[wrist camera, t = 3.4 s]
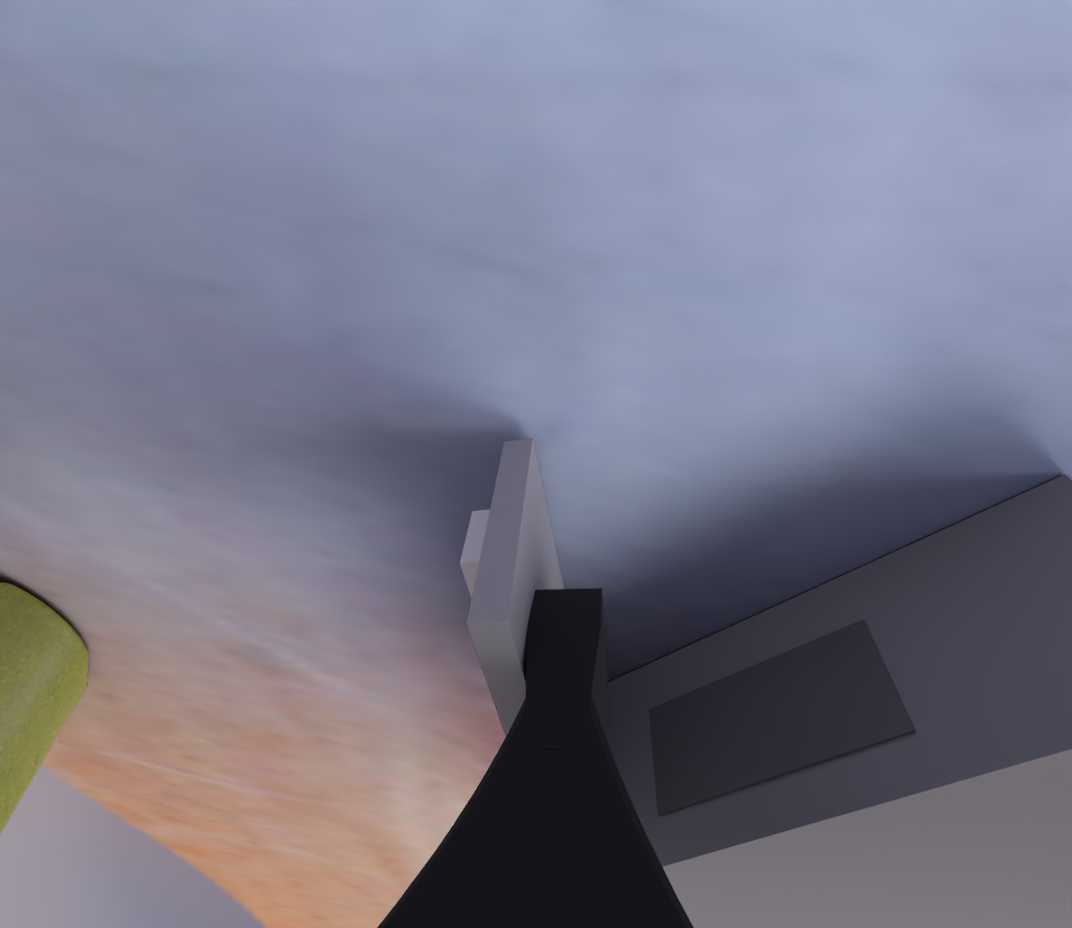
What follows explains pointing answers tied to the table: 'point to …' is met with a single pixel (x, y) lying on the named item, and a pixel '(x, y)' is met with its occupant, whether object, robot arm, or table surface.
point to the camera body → (874, 741)
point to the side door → (509, 573)
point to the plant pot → (33, 688)
